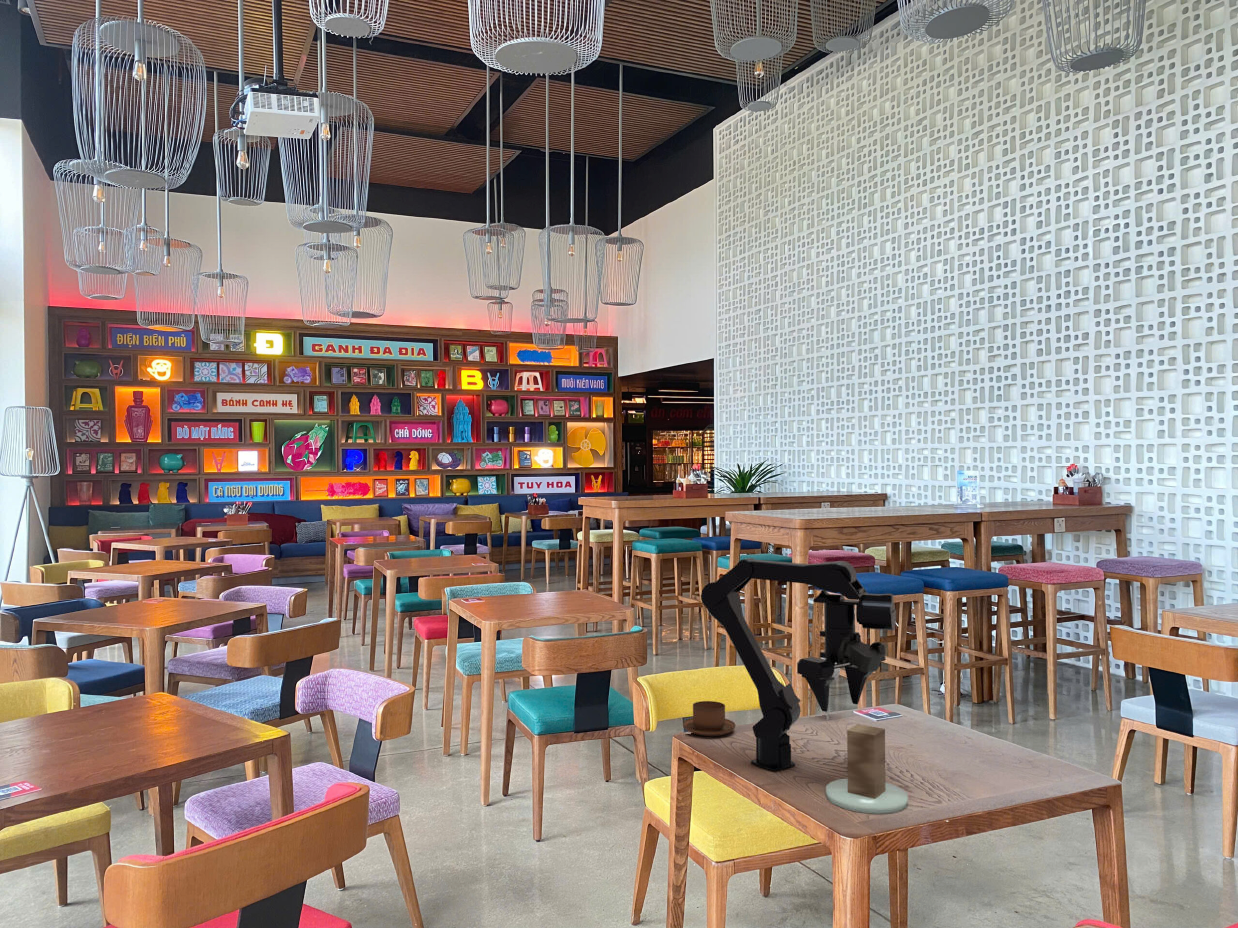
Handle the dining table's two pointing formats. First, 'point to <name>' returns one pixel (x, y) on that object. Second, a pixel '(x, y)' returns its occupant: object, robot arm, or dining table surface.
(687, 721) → the cup and saucer
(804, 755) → the dining table surface
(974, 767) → the dining table surface
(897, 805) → the dish
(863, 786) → the walnut block
